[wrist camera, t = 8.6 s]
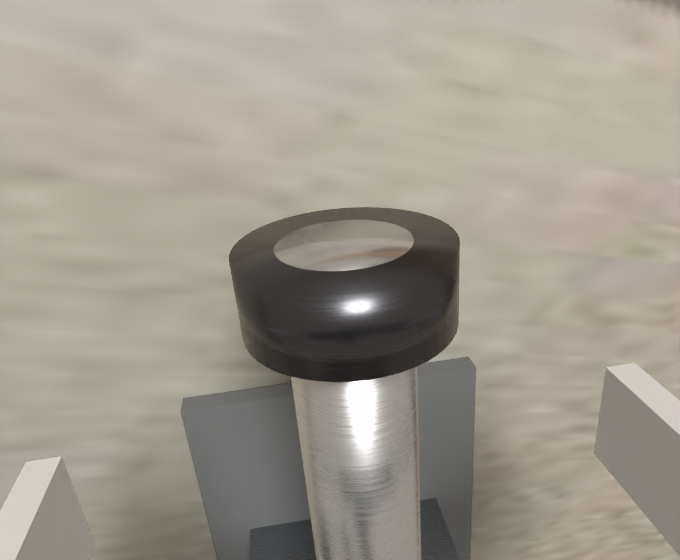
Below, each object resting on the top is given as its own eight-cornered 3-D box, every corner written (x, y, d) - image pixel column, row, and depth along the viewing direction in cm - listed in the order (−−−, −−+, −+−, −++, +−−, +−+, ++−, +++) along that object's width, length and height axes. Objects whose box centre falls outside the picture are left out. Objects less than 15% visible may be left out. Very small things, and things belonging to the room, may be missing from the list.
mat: (255, 695, 36) (255, 712, 35) (183, 398, 26) (180, 411, 25) (461, 654, 37) (466, 670, 36) (468, 356, 27) (475, 368, 26)
